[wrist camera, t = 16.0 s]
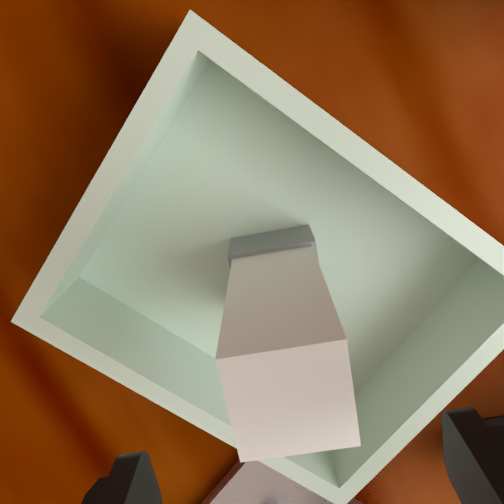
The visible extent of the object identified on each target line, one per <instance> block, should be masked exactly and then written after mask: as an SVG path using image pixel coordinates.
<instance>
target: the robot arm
mask: <svg viewBox="0 0 504 504" xmlns="http://www.w3.org/2000/svg"><path fill="white" fill-rule="evenodd" d="M442 433H443V450H444V461H445V466H446V469H447V473H448V476H449V479H450V481H451V483H452V485H453V487H454V489H455V491H456V493H457V495H458V497H459V499H460V501H461V503H462V504H504V427H502V426H501V425H496V426H489V427H487V425H486V424H485V422H484V421H483V420H482V418H481V417H480V415H479V414H478V413H477V411H476V410H475V409H474V408H473V407H468V408H461V409H454V410H447V411H443V412H442ZM81 504H162V497H161V492H160V489H159V486H158V483H157V480H156V476H155V473H154V470H153V467H152V464H151V461H150V458H149V455H148V453H147V452H145V451H144V452H136V453H129V454H122V455H118V456H117V458H116V459H115V462H114V464H113V466H112V469H111V471H110V474H109V476H108V477H104V478H99V479H98V480H97V482H96V483H95V484H94V485H93V486H92V487H91V489H90V490H89V491H88V492H87V493H86V494H85V496H84V499H83V501H82V503H81Z"/></svg>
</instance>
